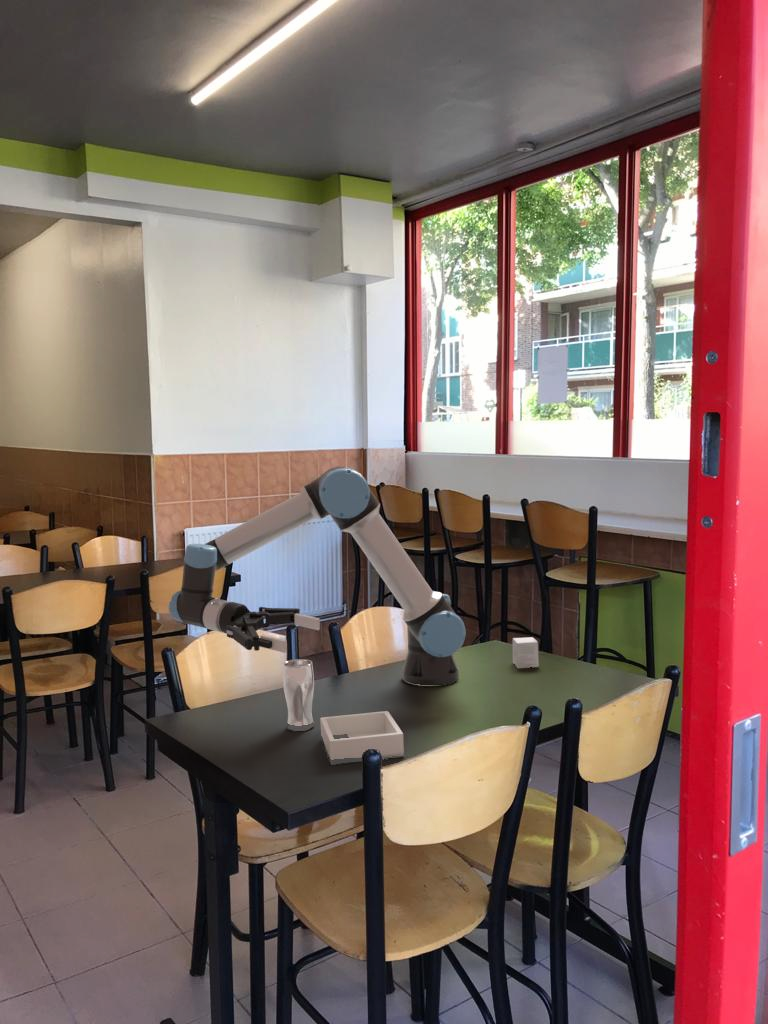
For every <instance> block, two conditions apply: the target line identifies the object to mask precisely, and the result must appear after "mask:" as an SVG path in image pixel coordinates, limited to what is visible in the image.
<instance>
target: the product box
mask: <svg viewBox="0 0 768 1024" xmlns="http://www.w3.org/2000/svg"><path fill="white" fill-rule="evenodd" d="M512 663H513V665H514V664H515V665H514V666H515V667H516V668H517V669H530V667H532V668H539V666H540V665H539V642H538V641H537V639H535V638H534V637H533V636H532V637H528V636H527V637H513V638H512Z"/></svg>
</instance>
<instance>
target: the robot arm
mask: <svg viewBox="0 0 768 1024" xmlns="http://www.w3.org/2000/svg"><path fill="white" fill-rule="evenodd" d="M380 508H381V503H380V501H379V500H378V499H377V497H376V495H374V493H373V491H372V490H371V488H370V486H369V483H368V481H367V479H366V478H365V477H364V476H363V474H361V473H360V472H359V471H357V470H356V469H353V468H351V467H346V466H336V467H335V466H334V467H332V468H330V469H328V470H326V471H325V472H323V474H321V475H320V476H318V477H317V478H315V479H314V480H312V481H311V482H309V483H308V484H306V485H304V486H302V487H301V491H300V492H299V493H297V494H295V495H293V496H291V497H290V498H288V499H286V500H284V501H282V502H280V503H279V504H276V505H275V506H273V507H271V508H269V509H267V510H265V511H264V512H262V513H260V514H258V515H256V516H255V517H253V518H250V519H248V520H247V521H245V522H243V523H242V524H240V525H237V526H236V527H233V528H232V529H230V530H228V531H227V532H224V533H223V534H221V535H219V536H217V537H215V538H214V539H213V540H209V541H207V542H206V543H204V544H203V543H190V544H188V545H186V547H185V552H184V557H183V571H182V582H181V583H182V584H181V589H180V590H178V591H175V592H174V594H173V595H171V600H170V601H169V603H168V613H169V615H170V617H171V618H172V619H173V620H174V621H178V622H181V623H183V624H185V625H189V626H190V625H191V626H194V627H199V628H204V629H208V630H211V631H215V632H217V633H223V634H226V637H228V638H230V639H233V640H234V641H235V642H236V643H238V644H239V645H240V646H242V647H243V648H244V649H246V650H247V651H250V650H251V651H252V650H253V651H256V652H257V651H258V652H259V651H260V648H264V649H268V650H272V651H275V652H280V653H284V654H285V653H287V652H288V643H287V642H288V641H287V639H282V638H279V637H275V636H270V635H267V634H264V633H263V634H260V635H259V634H258V632H257V631H258V630H259V629H262V628H268V627H270V626H273V625H285V624H294V626H297V627H302V628H306V629H310V630H314V631H320V630H321V626H320V625H321V623H320V621H321V619H320V618H319V617H314V616H311V615H307V614H306V615H305V614H303V613H302V614H301V613H300V612H301V610H300V608H294V607H293V608H290V607H289V608H288V607H287V608H286V607H285V608H284V607H263V606H259V607H258V611H250V610H249V608H248V607H247V605H245V604H243V603H240V602H234V601H229V600H224V599H220V598H219V597H213V593H214V585H215V584H214V583H215V576H216V572H217V571H220V570H221V569H223V568H225V567H226V566H228V565H230V564H232V563H234V562H236V561H237V560H239V559H241V558H243V557H245V556H247V555H249V554H251V553H252V552H254V551H256V550H258V549H260V548H261V547H264V546H265V545H267V544H269V543H271V542H273V541H275V540H277V539H278V538H280V537H282V536H284V535H285V534H288V533H290V532H292V531H293V530H296V529H297V528H299V527H300V526H302V525H305V524H307V523H309V522H310V521H312V520H314V519H318V520H322V519H324V518H326V517H328V516H330V518H331V519H332V520H333V521H334V523H335V524H336V525H337V527H338V528H339V530H340V531H341V532H345V533H349V534H350V535H351V536H352V538H353V539H354V541H355V542H356V544H357V545H358V546H359V547H360V549H361V550H362V552H363V553H364V555H365V556H366V558H367V559H368V561H369V562H370V563H371V565H372V566H373V568H374V569H375V571H376V572H377V573H378V575H379V576H380V579H382V581H383V582H384V583H385V585H386V586H387V588H388V589H389V591H390V592H391V593H392V595H393V596H394V598H395V599H396V601H397V602H398V603H399V605H400V607H401V608H402V609H403V617H402V620H403V622H405V624H406V626H407V631H406V632H407V654H406V657H405V660H404V664H403V666H402V667H403V668H402V672H401V675H402V677H401V678H403V679H404V680H405V681H407V682H410V683H413V684H420V685H444V684H448V685H450V684H449V683H452V684H454V683H456V682H458V680H459V679H458V678H459V677H460V675H459V668H458V666H457V663H456V659H455V657H454V654H455V653H457V652H458V651H459V650H460V649H461V648H462V646H463V645H464V642H465V638H466V636H467V635H466V627H465V623H464V621H463V619H462V618H461V616H459V615H458V614H456V612H455V611H454V609H453V608H452V606H451V605H452V601H451V599H450V598H451V597H450V595H448V594H446V593H442V591H441V592H440V591H435V590H432V588H431V587H430V584H428V582H427V581H426V579H425V577H424V576H423V575H422V573H421V572H420V571H419V569H418V568H417V567H416V566H417V565H415V563H414V562H413V560H412V559H411V557H410V556H409V554H408V553H407V551H406V550H405V549H404V548H403V546H402V544H401V543H400V542H399V540H398V539H397V537H396V536H395V534H394V533H393V532H392V530H391V529H390V527H389V525H388V524H387V523H386V521H385V520H384V519H383V517H382V515H381V514H380ZM455 681H456V682H455ZM453 682H454V683H453ZM444 686H445V685H444Z"/></svg>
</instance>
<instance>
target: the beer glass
mask: <svg viewBox="0 0 768 1024" xmlns="http://www.w3.org/2000/svg"><path fill="white" fill-rule="evenodd" d="M282 664H283V665H282V667H283V669H282V686H283V692H284V696H285V702H286V706H287V723H288V724H290V725H295V726H302V725H308V724H311V723H312V722H313V723H314V719H313V714H312V712H313V711H312V707H313V699H314V692H315V691H314V690H315V678H314V677H315V676H314V667H313V660H310V659H302V658H300V659H290V660H286V661H284V662H283V663H282Z"/></svg>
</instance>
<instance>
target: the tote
mask: <svg viewBox="0 0 768 1024" xmlns="http://www.w3.org/2000/svg"><path fill="white" fill-rule="evenodd" d="M319 720H320V721H319V722H320V737H321V736H322V738H323V741H324V744H325V746H326V749H327V751H328V754H329V756H330V759H331V760H334V759H344V758H361V757H362V754H363V752H365V751H366V750H368V749H377V750H379V751H380V753H381V755H382V757H383V760H382V761H384V757H385V758H386V757H392V756H402V755H404V756H405V753H404V752H405V751H404V750H405V749H404V747H405V746H404V745H405V744H404V733H403V731H402V730H401V728H400V727H399V725H398V724H397V722H396V721H395V719H394V718H393V716H392V714H390V712H389V711H388V710H385V711H384V710H382V711H376V712H375V711H372V712H365V713H364V712H363V713H356V714H355V713H354V714H353V713H352V714H344V715H335V716H324V717H320V719H319ZM342 734H343V735H344V734H347V735H348V737H349V738H340V739H334V737H333V735H342Z"/></svg>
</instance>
